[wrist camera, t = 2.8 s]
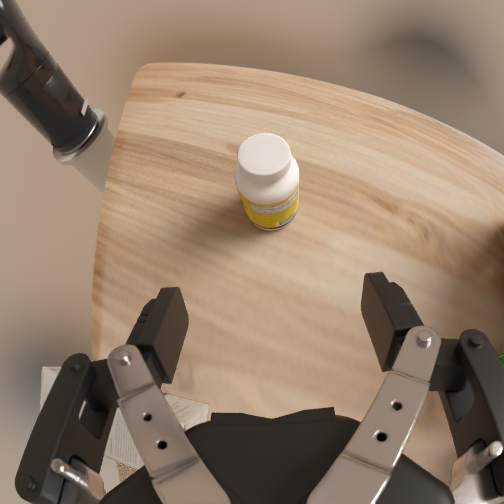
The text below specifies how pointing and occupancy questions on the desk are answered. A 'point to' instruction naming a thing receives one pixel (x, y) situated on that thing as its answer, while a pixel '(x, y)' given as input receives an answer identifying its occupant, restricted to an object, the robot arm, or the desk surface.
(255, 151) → the supplement bottle
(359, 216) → the desk surface
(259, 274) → the desk surface
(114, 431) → the cosmetic box
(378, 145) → the desk surface
